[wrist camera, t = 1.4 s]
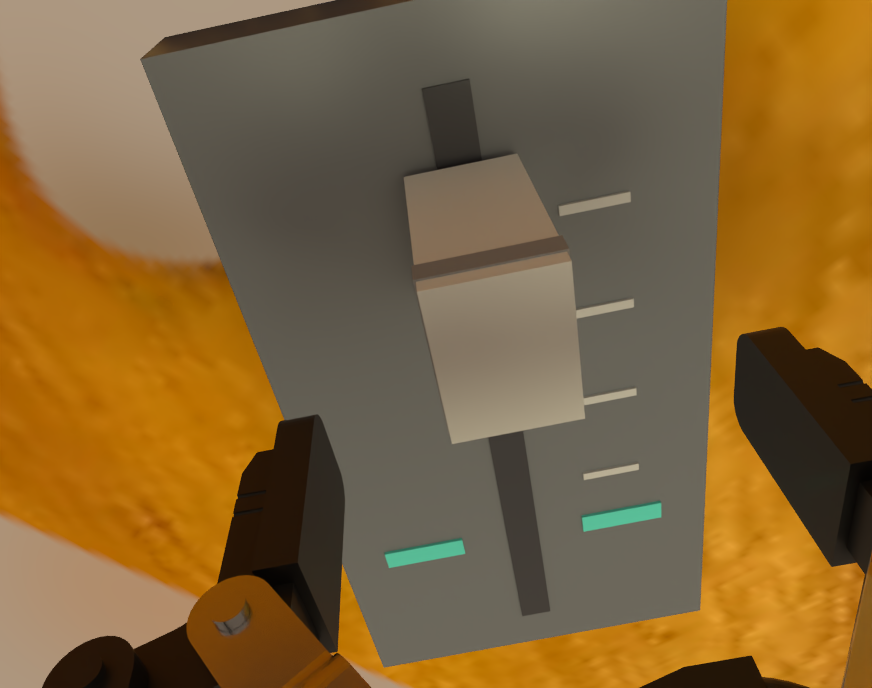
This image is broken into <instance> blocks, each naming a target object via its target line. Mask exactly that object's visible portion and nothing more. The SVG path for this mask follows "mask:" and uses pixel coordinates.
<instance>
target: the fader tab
mask: <svg viewBox="0 0 872 688" xmlns="http://www.w3.org/2000/svg"><path fill="white" fill-rule="evenodd" d="M404 184H405V193H406V202H407V210H408V219H409V228H410V236H411V245H412V254H413V263H414V265H412V266H411V269H412V278H413V284H414V288H415V292H416V296H417V301H418V305H419V309H420V314H421V318H422V322H423V327H424V331H425V335H426V340H427V344H428V348H429V352H430V357H431V361H432V365H433V370H434V374H435V378H436V383H437V387H438V391H439V396H440V400H441V404H442V408H443V413H444V417H445V421H446V426H447V430H448V434H450V438H451V442H452V444H456V443H461V442H466V441H471V440H476V439H482V438H487V437H492V436H497V435H502V434H508V433H513V432H518V431H523V430H528V429H534V428H539V427H544V426H549V425H554V424H560V423H565V422H570V421H575V420H580V419H585V411H584V399H583V388H582V376H581V364H580V352H579V341H578V329H577V317H576V305H575V294H574V282H573V270H572V260H571V259H570V252H569V247H568V245H567V243H566V241H565V239H564V238H563V236H562V235H561V236H559V235H558V233H557V231H556V229H555V227H554V225H553V223H552V221H551V219H550V217H549V215H548V213H547V211H546V209H545V207H544V205H543V203H542V201H541V200H540V198H539V196H538V194H537V192H536V190H535V188H534V186H533V184H532V182H531V180H530V178H529V176H528V174H527V172H526V170H525V168H524V166H523V164H522V162H521V160H520V158H519V156H518V154H512V155H508V156H503V157H498V158H493V159H488V160H483V161H479V162H474V163H469V164H464V165H459V166H454V167H450V168H445V169H440V170H435V171H430V172H425V173H421V174H416V175H411V176H406V177H404Z"/></svg>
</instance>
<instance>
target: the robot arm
mask: <svg viewBox="0 0 872 688" xmlns="http://www.w3.org/2000/svg"><path fill="white" fill-rule="evenodd" d="M734 406H735V412H736V416H737V419H738V422H739V425H740V427H741V429H742V431H743V432H744V434H745V435H746V437H747V439H748V440H749V442H750V443H751V445H752V446H753V448H754V449H755V451H756V452H757V454H758V455H759V457H760V458H761V460H762V461H763V463H764V464H765V466H766V468H767V469H768V471H769V472H770V474H771V475H772V477H773V478H774V480H775V481H776V483H777V484H778V486H779V487H780V489H781V490H782V492H783V493H784V495H785V497H786V498H787V500H788V501H789V503H790V504H791V506H792V507H793V509H794V510H795V512H796V513H797V515H798V516H799V518H800V519H801V521H802V522H803V524H804V526H805V527H806V529H807V530H808V532H809V533H810V535H811V536H812V538H813V539H814V541H815V542H816V544H817V545H818V547H819V548H820V550H821V552H822V553H823V555H824V556H825V558H826V559H827V561H828V562H829V564H830V565H831V567H834V566H839V565H845V564H851V563H856V562H857V563H858V565H859V566H860V568H861V569H862V571H863V572H864V573H865V577H864V582H863V586H862V591H861V595H860V600H859V605H858V610H857V614H856V619H855V624H854V629H853V634H852V638H851V643H850V648H849V653H848V657H847V662H846V667H845V672H844V676H843V681H842V685H841V688H872V389H871V388H870V387H869V386H868V385H867V384H864V383H863V380H862V379H861V378H860V377H859V375H858V374H857V373H856V372H855V371H854V370H853V369H852V368H851V367H850V366H849V365H848V364H847V363H846V362H845V361H843V360H841V359H839V358H837V357H836V356H834V355H832V354H830V353H828V352H826V351H824V350H822V349H820V348H813V349H808V350H805V348H804V347H803V346H802V345H801V344H800V343H799V342H798V341H797V339H796V338H795V337H794V336H793V335H792V334H791V333H790V332H789V331H788V330H787V329H786V328H784V327H777V328H772V329H767V330H762V331H757V332H751V333H746V334H742V335H740V336H739V338H738V341H737V352H736V370H735V387H734ZM237 496H238V499H236V503H235V508H234V512H233V513H234V517H232V521H231V525H230V530H229V534H228V539H227V543H226V548H225V552H224V556H223V561H222V565H221V570H220V574H219V579H218V583H217V584H216V585H215V586H213V587H212V588H210V589H209V590H208V591H207V592H205V593H204V594H203V595H202V596H201V597H200V599H199V600H198V601H197V602H196V604H195V605H194V607H193V609H192V610H191V612H190V615H189V617H188V621H187V623H185V624H184V625H183V626H181V627H179V628H177V629H175V630H174V631H172V632H169V633H167V634H165V635H163V636H161V637H159V638H157V639H155V640H152V641H150V642H148V643H146V644H144V645H142V646H140V647H137V648H135V649H133V648H132V647H131V645H130V644H129V643H128V642H127V641H126V640H124V639H122V638H120V637H116V636H104V637H99V638H95V639H92V640H90V641H87V642H85V643H83V644H81V645H80V646H78V647H76V648H75V649H73V650H72V651H71V652H69V653H68V654H67V655H66V656H65V657H63V658H62V659H61V660H60V661H59V663H57V665H56V666H55V667H54V668H53V669H52V671H51V672H50V673H49V675H48V677H47V678H46V680H45V682H44V684H43V687H42V688H371V687H370V686H369V685H368V683H367V682H366V681H365V680H364V679H363V678H362V677H361V676H360V675H359V673H358V672H357V671H356V670H355V669H354V668H353V667H352V666H351V665H350V663H349V662H348V661H347V660H346V659H345V658H344V657H342V656H341V655H340V654H338V653H336V654H335V655H334V656H332V655H331V654H330V653H332V652H337V651H338V631H339V612H340V592H341V573H342V553H343V534H344V515H345V492H344V485H343V480H342V475H341V472H340V469H339V466H338V463H337V460H336V458H335V455H334V452H333V449H332V446H331V444H330V441H329V438H328V435H327V432H326V430H325V427H324V424H323V422H322V419H321V417H320V416H319V415H318V414H316V415H311V416H305V417H300V418H295V419H290V420H284V421H280V422H279V424H278V428H277V433H276V439H275V444H274V449H273V450H268V451H262V452H257V453H256V455H255V456H254V458H253V459H252V460H251V462H250V463H249V465H248V466H247V467H246V469H245V470H244V472H243V473H242V477H241V481H240V485H239V490H238V494H237ZM640 688H809V687H806V686H803V685H799V684H796V683H793V682H789V681H784V680H779V679H774V678H766V677H762V676H761V674H760V672H759V670H758V668H757V666H756V664H755V662H754V660H753V657H752V656H746V657H740V658H734V659H728V660H723V661H717V662H711V663H705V664H699V665H693V666H687V667H683V668H681V669H679V670H677V671H675V672H672V673H670V674H668V675H666V676H664V677H662V678H659V679H657V680H655V681H653V682H651V683H649V684H647V685H644V686H642V687H640Z"/></svg>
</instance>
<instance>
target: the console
mask: <svg viewBox="0 0 872 688" xmlns="http://www.w3.org/2000/svg"><path fill="white" fill-rule="evenodd" d="M726 11H727V0H335V1H331V2H326V3H321V4H317V5H312V6H308V7H303V8H298V9H294V10H289V11H284V12H280V13H275V14H271V15H266V16H261V17H257V18H252V19H248V20H243V21H238V22H234V23H229V24H225V25H220V26H215V27H211V28H206V29H201V30H197V31H192V32H188V33H183V34H179V35H174V36H169V37H165V38H164V39H163V40H162V41H160V42H159V43H158V44H157V45H156V46H155V47H154V48H152V49H151V50H150V51H149V52H148V53H147V54H146V55H145V56H143V57H142V58H141V62H142V65H143V67H144V69H145V72H146V74H147V77H148V80H149V82H150V85H151V87H152V89H153V92H154V94H155V97H156V100H157V102H158V104H159V107H160V110H161V112H162V115H163V117H164V120H165V122H166V125H167V127H168V130H169V132H170V135H171V137H172V139H173V142H174V145H175V147H176V149H177V152H178V155H179V157H180V159H181V162H182V165H183V167H184V169H185V172H186V174H187V177H188V179H189V182H190V185H191V187H192V189H193V192H194V194H195V197H196V199H197V202H198V204H199V207H200V209H201V212H202V214H203V217H204V219H205V222H206V224H207V227H208V229H209V232H210V234H211V236H212V239H213V242H214V244H215V247H216V249H217V252H218V254H219V257H220V259H221V262H222V264H223V267H224V269H225V272H226V274H227V277H228V279H229V282H230V284H231V287H232V289H233V292H234V294H235V297H236V299H237V302H238V304H239V307H240V309H241V312H242V314H243V317H244V319H245V322H246V324H247V327H248V329H249V332H250V334H251V337H252V339H253V342H254V344H255V347H256V349H257V352H258V354H259V357H260V359H261V362H262V364H263V367H264V369H265V372H266V374H267V377H268V379H269V382H270V384H271V387H272V389H273V392H274V394H275V397H276V399H277V402H278V404H279V407H280V409H281V412H282V414H283V417H284V419H285V420H290V419H295V418H300V417H305V416H311V415H316V414H318V415H319V416H320V417H321V419H322V422H323V424H324V427H325V430H326V432H327V435H328V438H329V441H330V444H331V446H332V449H333V452H334V455H335V458H336V460H337V463H338V466H339V469H340V472H341V475H342V480H343V485H344V492H345V515H344V534H343V553H342V564H343V567H344V569H345V572H346V574H347V577H348V579H349V582H350V584H351V587H352V589H353V592H354V594H355V597H356V599H357V602H358V604H359V607H360V609H361V612H362V614H363V617H364V619H365V622H366V624H367V627H368V629H369V632H370V634H371V637H372V639H373V642H374V644H375V647H376V649H377V652H378V654H379V657H380V659H381V662H382V664H383V667H389V666H395V665H400V664H406V663H411V662H417V661H422V660H428V659H433V658H439V657H444V656H450V655H455V654H461V653H466V652H472V651H477V650H483V649H488V648H494V647H500V646H505V645H511V644H516V643H522V642H527V641H533V640H538V639H544V638H549V637H555V636H560V635H566V634H571V633H577V632H582V631H588V630H593V629H599V628H604V627H610V626H615V625H621V624H626V623H632V622H638V621H643V620H649V619H654V618H660V617H665V616H671V615H676V614H682V613H687V612H693V611H698V610H700V598H701V576H702V553H703V531H704V508H705V485H706V463H707V440H708V418H709V395H710V373H711V350H712V327H713V305H714V282H715V260H716V237H717V214H718V192H719V169H720V147H721V124H722V101H723V79H724V56H725V34H726ZM512 154H518V156H519V158H520V160H521V162H522V164H523V166H524V168H525V170H526V172H527V174H528V176H529V178H530V180H531V182H532V184H533V186H534V188H535V190H536V192H537V194H538V196H539V198H540V200H541V201H542V203H543V205H544V207H545V209H546V211H547V213H548V215H549V217H550V219H551V221H552V223H553V225H554V227H555V229H556V231H557V233H558V235H559V236H561V235H562V236H563V238H564V239H565V241H566V243H567V245H568V247H569V252H570V259H571V260H572V270H573V282H574V294H575V305H576V317H577V329H578V341H579V352H580V364H581V376H582V388H583V399H584V411H585V419H580V420H575V421H570V422H565V423H560V424H554V425H549V426H544V427H539V428H534V429H528V430H523V431H518V432H513V433H508V434H502V435H497V436H492V437H487V438H482V439H476V440H471V441H466V442H461V443H456V444H452V442H451V438H450V434H448V430H447V426H446V421H445V417H444V413H443V408H442V404H441V400H440V396H439V391H438V387H437V383H436V378H435V374H434V370H433V365H432V361H431V357H430V352H429V348H428V344H427V340H426V335H425V331H424V327H423V322H422V318H421V314H420V309H419V305H418V301H417V296H416V292H415V288H414V284H413V278H412V269H411V266H412V265H414V263H413V254H412V245H411V236H410V228H409V219H408V210H407V202H406V193H405V184H404V177H406V176H411V175H416V174H421V173H425V172H430V171H435V170H440V169H445V168H450V167H454V166H459V165H464V164H469V163H474V162H479V161H483V160H488V159H493V158H498V157H503V156H508V155H512Z"/></svg>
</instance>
